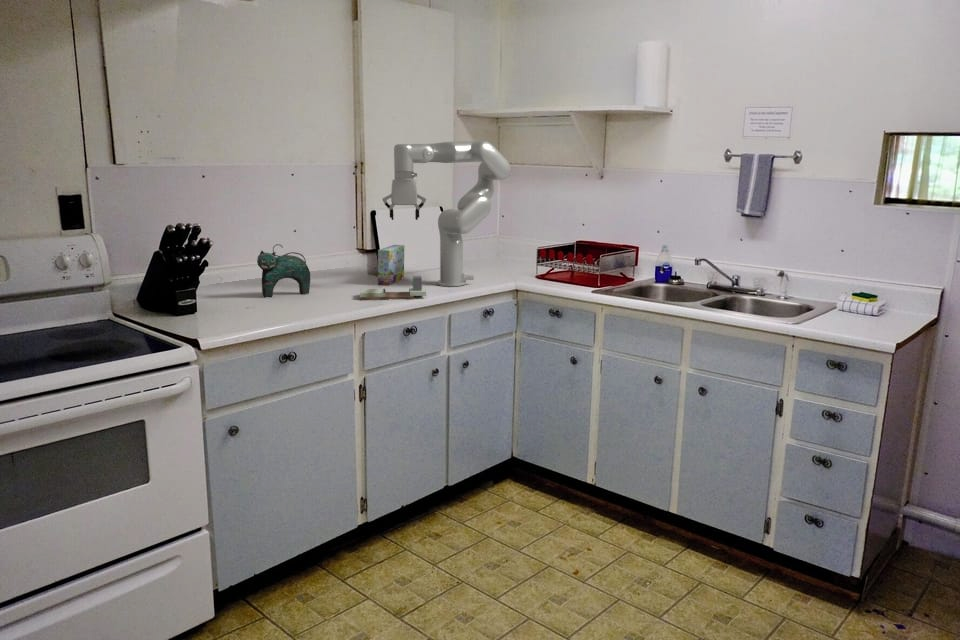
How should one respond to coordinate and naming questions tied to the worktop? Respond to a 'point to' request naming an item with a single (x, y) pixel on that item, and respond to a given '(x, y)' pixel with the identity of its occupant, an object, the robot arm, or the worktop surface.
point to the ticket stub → (417, 287)
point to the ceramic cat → (283, 271)
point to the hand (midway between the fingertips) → (404, 219)
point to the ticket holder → (382, 294)
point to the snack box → (390, 264)
